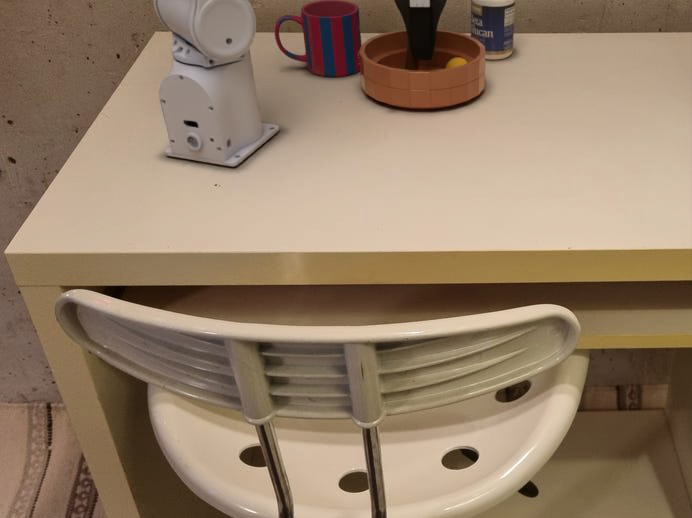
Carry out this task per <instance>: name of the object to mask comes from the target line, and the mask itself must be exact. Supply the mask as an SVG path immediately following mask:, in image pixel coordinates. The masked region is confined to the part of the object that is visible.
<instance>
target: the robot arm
mask: <svg viewBox="0 0 692 518" xmlns="http://www.w3.org/2000/svg"><path fill="white" fill-rule="evenodd" d="M152 1H153V2H152V3H153V8H154V11H155V13H156V16H157V18H158V20H159V22H160V23H161V24H162V25H163V27H165V28H166V29H167V30H168V31H169V32H171V34H172V35H171V36H172V38H171V47H170V50H171V54H172V55H171V56H172V65H171V68H170V71H169V72H168V73H167V75H166V76H165V77H164V78H163V79H162V81H161V82H160V87H159V90H158V97H159V103H160V107H161V112H162V115H163V119H164V125H165V127H166V132H167V137H168V140H169V144H170V146H168V147H166V149H165V150H164V154H165V156H168V157H173V158H178V159H185V160H190V161H196V162H201V163H202V162H203V163H207V164H214V165H220V166H225V167H231V168H232V167H233V168H234V167H236V166H238V165H240V164H241V163H242V162H243V161H244V160H245V159H247V158H248V157H249V156H251V155H252V154H253V153H254V152H255V151H257V149H258V148H260V147H261V146H262V145H263V144H265V143H266V142H267V141H269V139H271V138H272V137H273V136H274V135H275V134H277V133H278V132H279V131H280V126H279V125H278V124H274V123H267V122H262V118H261V117H262V116H261V112H260V104H259V100H258V99H259V98H258V92H257V87H256V86H257V85H256V80H255V73H254V68H253V67H254V66H253V62H252V61H253V60H252V54H251V50H250V49H251V46H252V44H253V42H254V40H255V37H256V33H257V19H256V14H255V11H254V9H253V7H252V5H251V3H250V2H249V0H152ZM447 2H448V0H394V3H395V5H396V8H397V10H398V11H399V13H400V16H401V18H402V20H403V23H404V27H405V30H407V35H408V40H409V45H410V49H411V53H412V57H413V59H414V60H432V56H433V52H434V46H435V39H436V31H437V29H438V25H439V22H440V18H441V15H442V13H443V11H444V9H445V6H446V4H447Z"/></svg>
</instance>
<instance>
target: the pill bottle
mask: <svg viewBox="0 0 692 518" xmlns="http://www.w3.org/2000/svg"><path fill="white" fill-rule="evenodd" d="M515 9H516V0H470V36H471V37H473V38H475V39H477V40H479V41H480V42H481V43H482V44H483V45H484V46H485V60H491V61H493V60H495V61H496V60H503V59H506V58H508V57H510V56H511V55H512V54H513V50H514V31H515V11H516V10H515Z"/></svg>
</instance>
